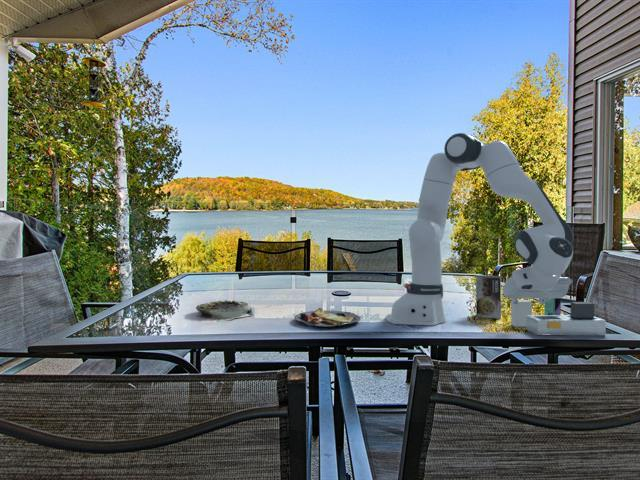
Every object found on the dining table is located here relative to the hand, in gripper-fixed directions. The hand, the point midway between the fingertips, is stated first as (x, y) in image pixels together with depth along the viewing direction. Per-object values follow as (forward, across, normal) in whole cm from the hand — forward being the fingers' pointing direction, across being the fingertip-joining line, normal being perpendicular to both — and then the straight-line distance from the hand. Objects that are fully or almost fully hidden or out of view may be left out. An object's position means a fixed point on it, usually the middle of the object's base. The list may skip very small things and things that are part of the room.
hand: (527, 302), depth 148 cm
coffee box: (+21, +6, -7) cm, 23 cm away
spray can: (+16, -16, -3) cm, 23 cm away
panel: (+10, 0, +3) cm, 10 cm away
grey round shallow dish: (+26, +114, -12) cm, 117 cm away
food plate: (+15, +70, -1) cm, 72 cm away
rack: (+3, -10, +10) cm, 15 cm away
